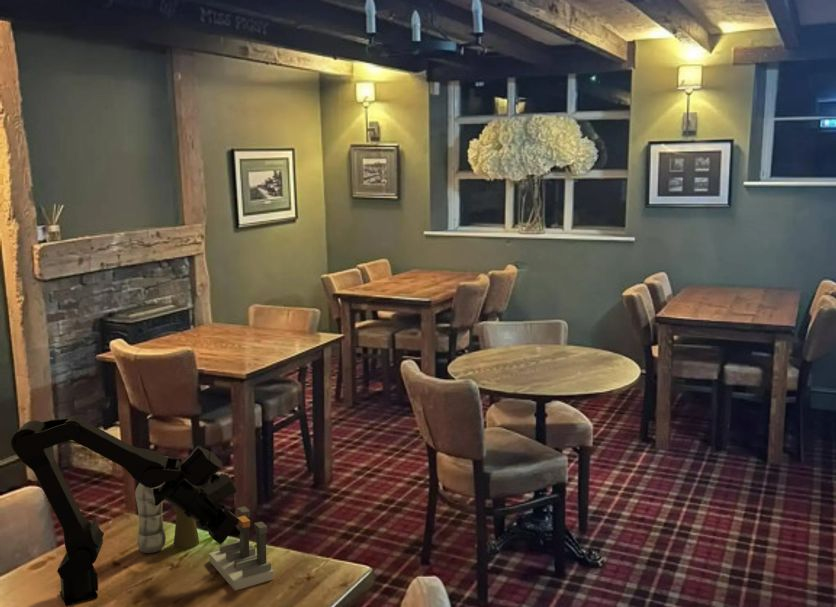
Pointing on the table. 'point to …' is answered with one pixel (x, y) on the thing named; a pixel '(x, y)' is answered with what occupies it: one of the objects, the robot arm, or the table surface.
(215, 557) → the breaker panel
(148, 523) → the plastic bottle
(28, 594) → the table surface
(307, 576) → the table surface
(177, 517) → the olive pepper mill
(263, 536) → the right breaker handle
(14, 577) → the table surface
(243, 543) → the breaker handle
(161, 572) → the table surface
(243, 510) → the handle
